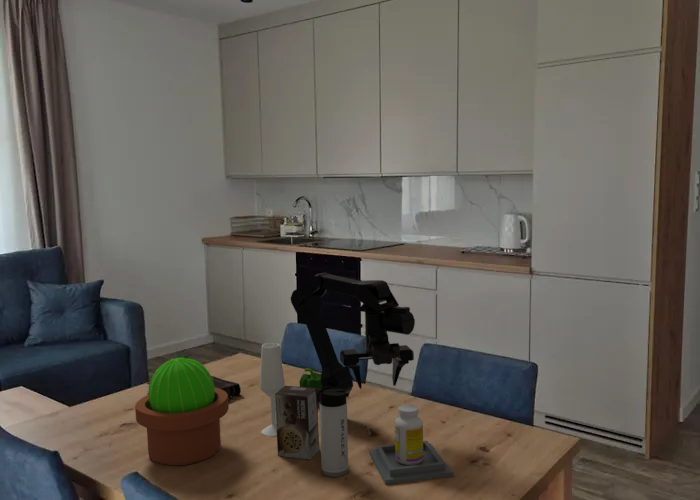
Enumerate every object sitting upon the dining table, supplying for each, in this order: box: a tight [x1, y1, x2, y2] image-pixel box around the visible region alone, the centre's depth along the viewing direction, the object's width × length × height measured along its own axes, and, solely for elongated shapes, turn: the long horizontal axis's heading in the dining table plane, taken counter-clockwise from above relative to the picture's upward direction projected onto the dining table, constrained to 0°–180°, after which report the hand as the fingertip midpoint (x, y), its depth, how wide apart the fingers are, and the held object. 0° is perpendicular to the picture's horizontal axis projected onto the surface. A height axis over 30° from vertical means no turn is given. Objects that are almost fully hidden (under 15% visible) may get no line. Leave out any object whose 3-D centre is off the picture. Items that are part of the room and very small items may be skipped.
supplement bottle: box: [394, 404, 424, 465], centre depth 147 cm, size 7×7×13 cm
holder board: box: [368, 440, 454, 485], centre depth 148 cm, size 16×16×2 cm
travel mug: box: [318, 387, 349, 478], centre depth 144 cm, size 6×7×20 cm
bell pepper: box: [299, 367, 322, 392], centre depth 192 cm, size 8×8×10 cm
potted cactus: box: [134, 354, 229, 466], centre depth 157 cm, size 22×22×25 cm
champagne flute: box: [259, 342, 286, 437], centre depth 168 cm, size 7×7×24 cm
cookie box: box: [275, 385, 320, 460], centre depth 155 cm, size 9×6×16 cm
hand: (377, 386), depth 164 cm, fingers open, 9 cm apart
